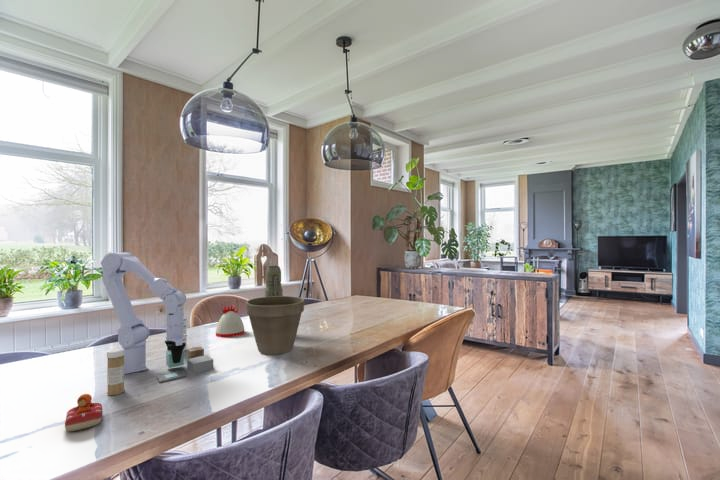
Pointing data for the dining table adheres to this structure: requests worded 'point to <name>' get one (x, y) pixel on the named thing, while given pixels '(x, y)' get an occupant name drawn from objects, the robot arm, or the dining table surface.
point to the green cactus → (273, 282)
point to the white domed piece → (229, 324)
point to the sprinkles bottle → (115, 371)
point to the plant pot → (275, 322)
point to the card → (171, 376)
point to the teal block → (170, 362)
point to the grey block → (199, 364)
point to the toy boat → (83, 414)
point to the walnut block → (195, 352)
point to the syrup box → (184, 337)
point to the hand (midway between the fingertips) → (175, 360)
